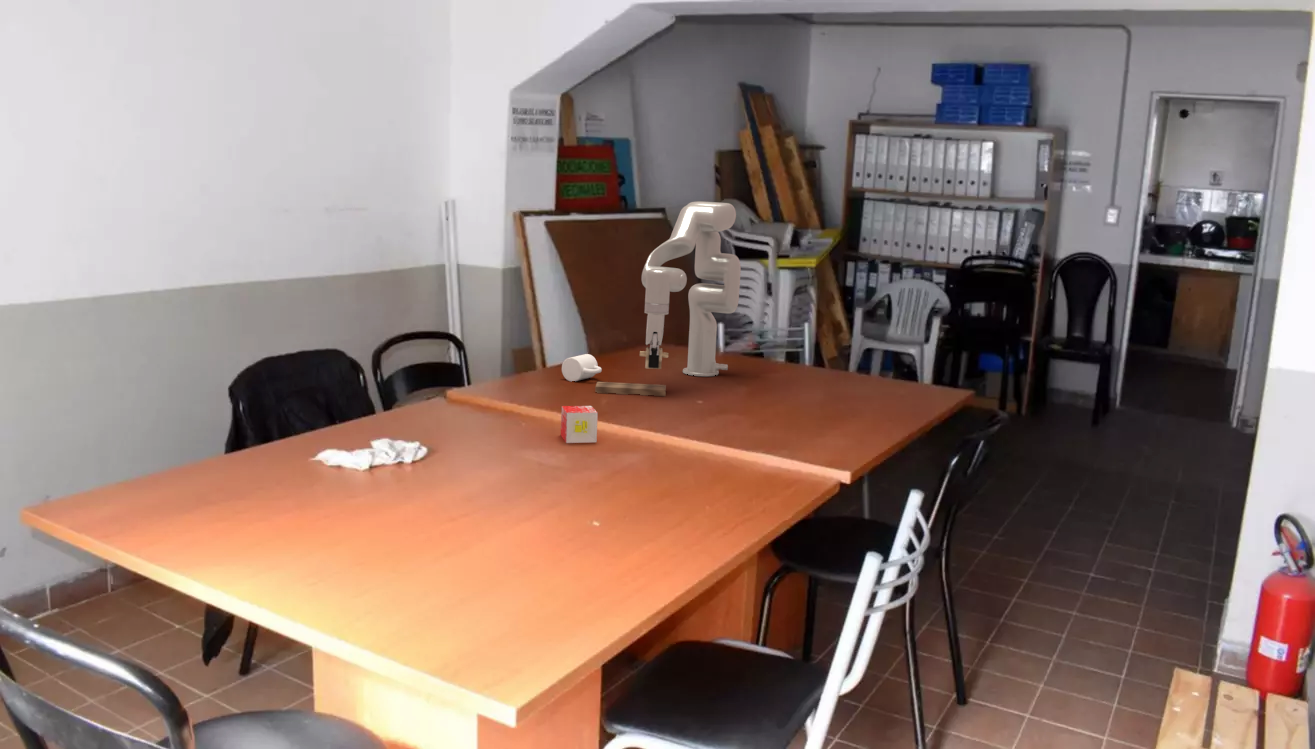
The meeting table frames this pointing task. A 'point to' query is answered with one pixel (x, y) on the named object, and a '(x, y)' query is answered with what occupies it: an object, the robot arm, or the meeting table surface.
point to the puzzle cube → (579, 424)
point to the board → (630, 388)
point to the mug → (580, 367)
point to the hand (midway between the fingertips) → (653, 365)
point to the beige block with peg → (647, 353)
